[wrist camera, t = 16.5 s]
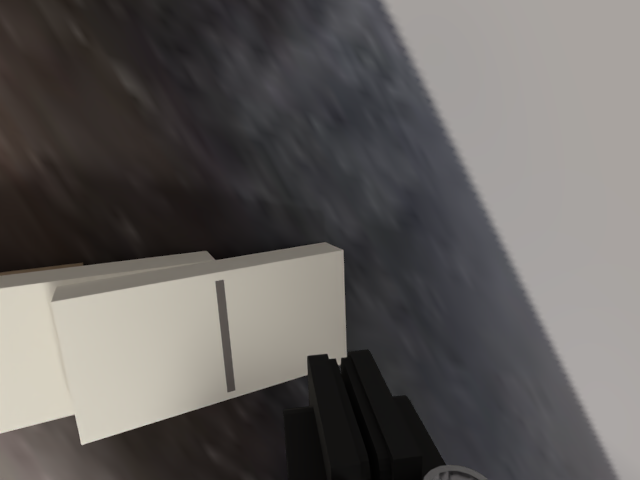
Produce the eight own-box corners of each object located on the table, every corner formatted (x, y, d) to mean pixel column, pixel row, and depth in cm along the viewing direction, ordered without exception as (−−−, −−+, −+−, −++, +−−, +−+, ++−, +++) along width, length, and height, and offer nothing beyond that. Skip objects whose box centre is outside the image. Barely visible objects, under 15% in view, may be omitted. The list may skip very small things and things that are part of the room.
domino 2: (343, 250, 17) (50, 302, 12) (347, 362, 18) (81, 445, 14) (325, 242, 18) (56, 286, 14) (329, 346, 19) (83, 417, 15)
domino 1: (215, 260, 16) (-143, 306, 12) (223, 376, 17) (-100, 459, 13) (206, 250, 17) (-116, 289, 13) (215, 358, 19) (-79, 427, 14)
